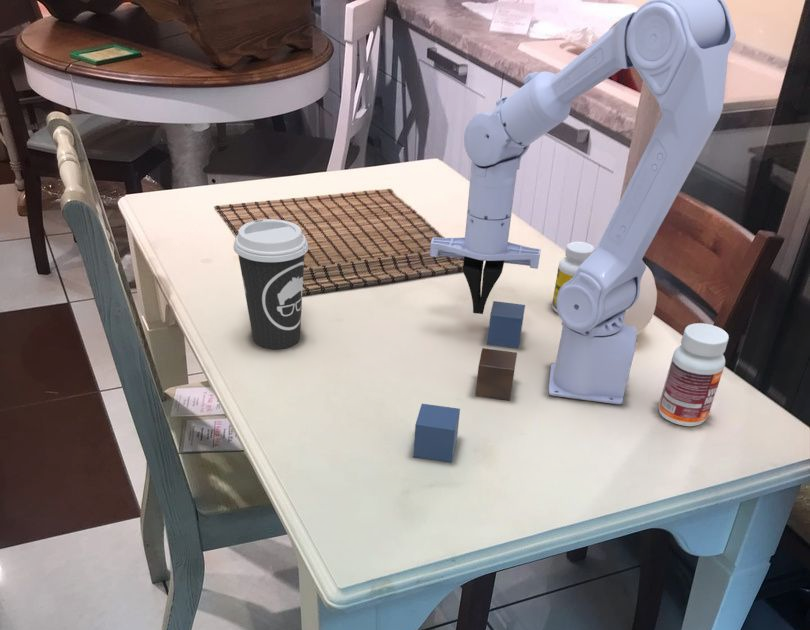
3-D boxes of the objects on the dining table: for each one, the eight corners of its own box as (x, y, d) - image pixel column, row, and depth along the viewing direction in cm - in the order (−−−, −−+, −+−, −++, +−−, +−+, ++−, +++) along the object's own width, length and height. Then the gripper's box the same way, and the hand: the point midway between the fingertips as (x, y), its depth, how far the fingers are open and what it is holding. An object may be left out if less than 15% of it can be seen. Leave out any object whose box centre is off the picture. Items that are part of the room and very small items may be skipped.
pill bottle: (707, 431, 103) (735, 349, 96) (657, 423, 104) (681, 341, 97) (705, 405, 108) (732, 325, 100) (657, 398, 109) (680, 317, 101)
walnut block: (512, 382, 110) (517, 352, 107) (509, 400, 106) (514, 369, 103) (478, 378, 110) (482, 347, 107) (474, 396, 107) (478, 365, 104)
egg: (651, 353, 118) (672, 275, 110) (590, 349, 118) (607, 271, 110) (640, 324, 124) (659, 249, 117) (582, 321, 124) (597, 245, 116)
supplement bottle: (546, 302, 128) (557, 239, 122) (579, 301, 129) (592, 238, 123) (557, 318, 124) (569, 254, 118) (592, 317, 125) (605, 253, 119)
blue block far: (520, 333, 120) (525, 304, 117) (518, 348, 117) (523, 318, 114) (489, 329, 121) (493, 300, 118) (486, 344, 117) (490, 314, 114)
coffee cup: (308, 320, 120) (304, 216, 110) (314, 353, 113) (311, 244, 103) (240, 323, 119) (231, 217, 109) (242, 356, 112) (232, 246, 102)
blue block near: (456, 440, 99) (460, 408, 96) (451, 462, 96) (455, 429, 93) (419, 435, 100) (421, 403, 97) (413, 457, 96) (415, 424, 93)
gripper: (547, 207, 110) (532, 304, 119) (438, 196, 111) (431, 292, 120) (544, 227, 105) (529, 326, 114) (430, 214, 106) (424, 313, 115)
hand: (478, 310), depth 117 cm, fingers closed
